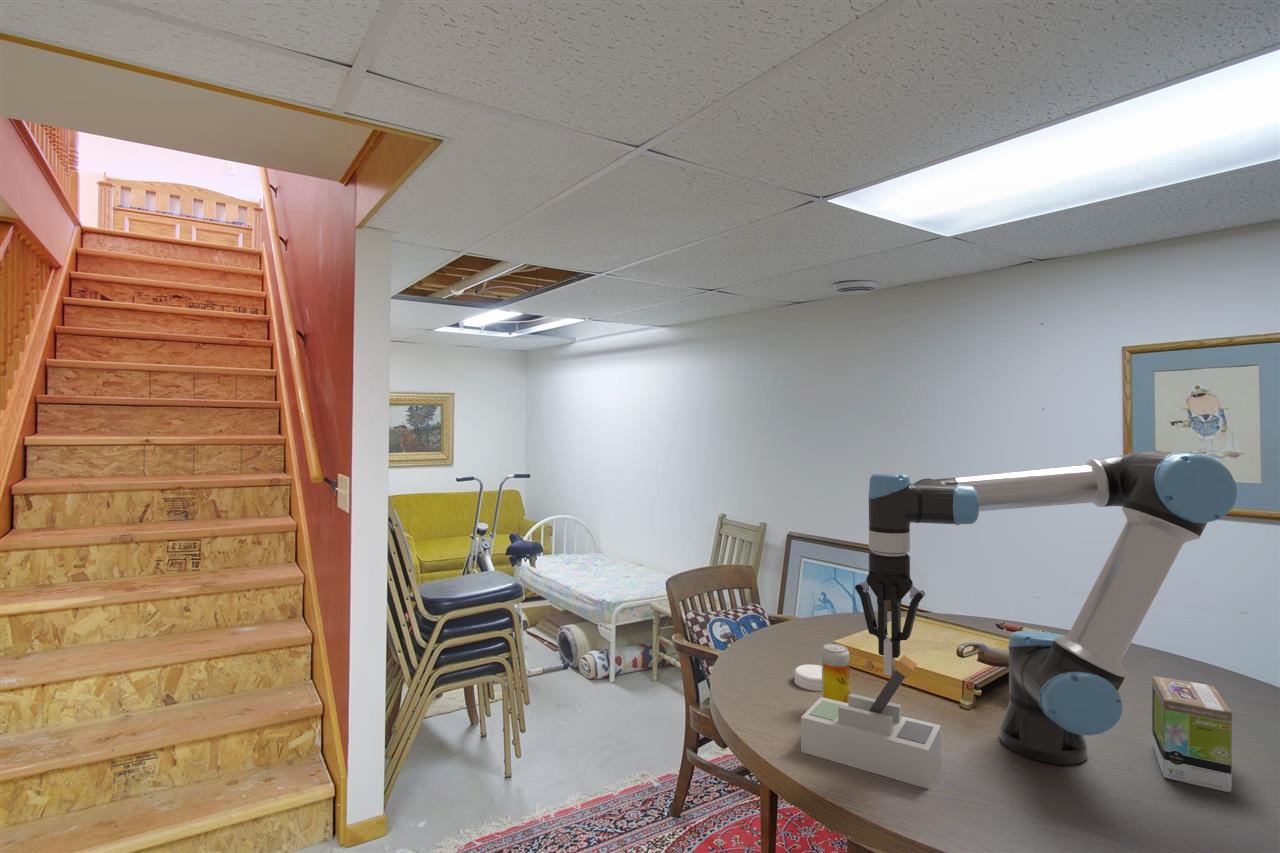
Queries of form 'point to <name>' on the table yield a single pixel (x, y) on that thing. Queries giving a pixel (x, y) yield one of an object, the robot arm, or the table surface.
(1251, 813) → the table surface
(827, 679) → the beer can
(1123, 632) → the robot arm
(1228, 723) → the tea box
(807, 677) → the white short cylinder
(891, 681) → the lever
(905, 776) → the breaker block
